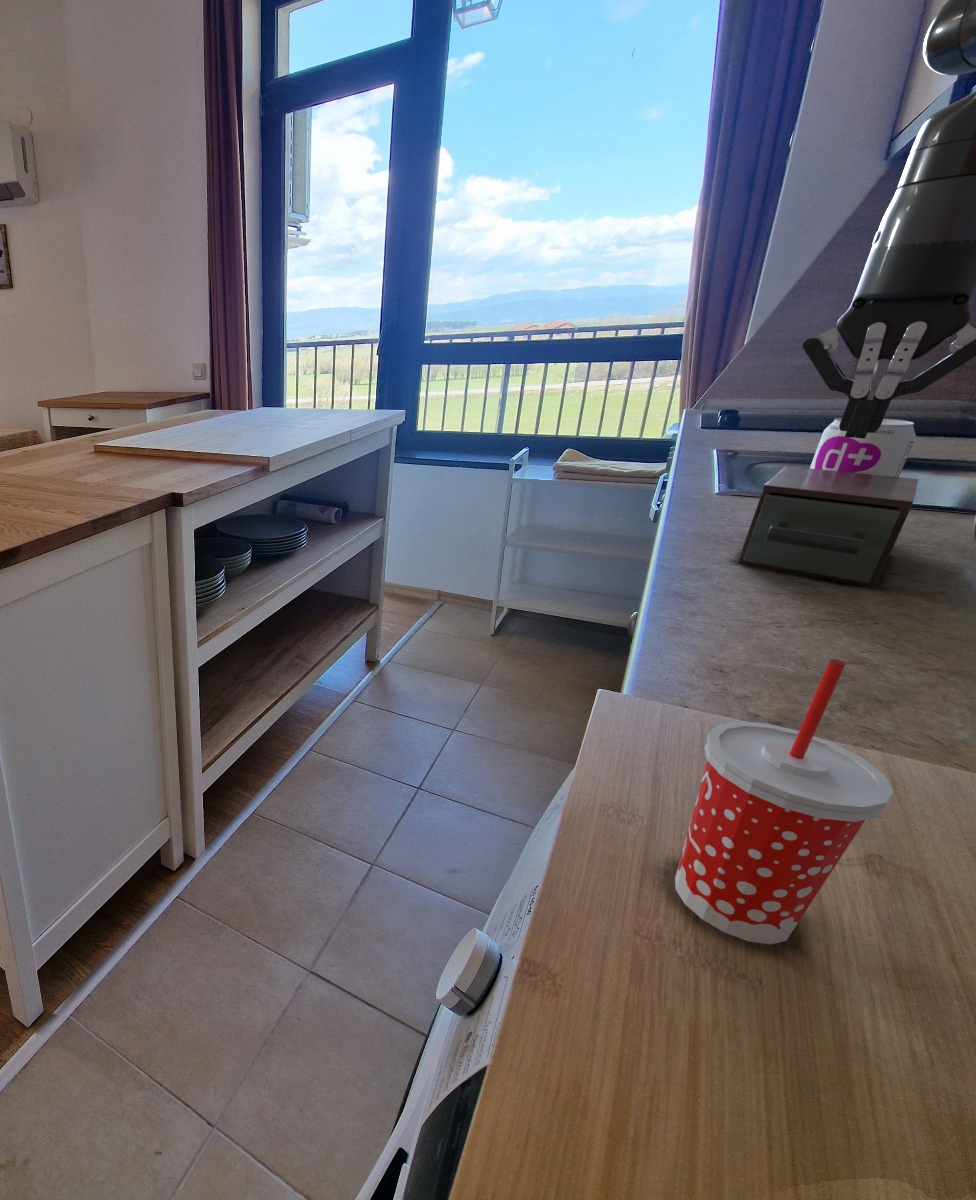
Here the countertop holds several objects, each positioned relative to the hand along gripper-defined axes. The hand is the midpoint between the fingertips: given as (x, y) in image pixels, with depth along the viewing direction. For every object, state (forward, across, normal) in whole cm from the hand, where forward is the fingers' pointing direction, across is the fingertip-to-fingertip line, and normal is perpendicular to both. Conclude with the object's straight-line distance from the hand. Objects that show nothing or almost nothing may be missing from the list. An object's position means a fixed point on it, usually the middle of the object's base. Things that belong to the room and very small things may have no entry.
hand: (854, 436), depth 63 cm
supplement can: (+16, 0, -25) cm, 30 cm away
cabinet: (+16, 0, -11) cm, 19 cm away
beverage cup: (+16, -4, +58) cm, 61 cm away
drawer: (+15, 0, -6) cm, 16 cm away
